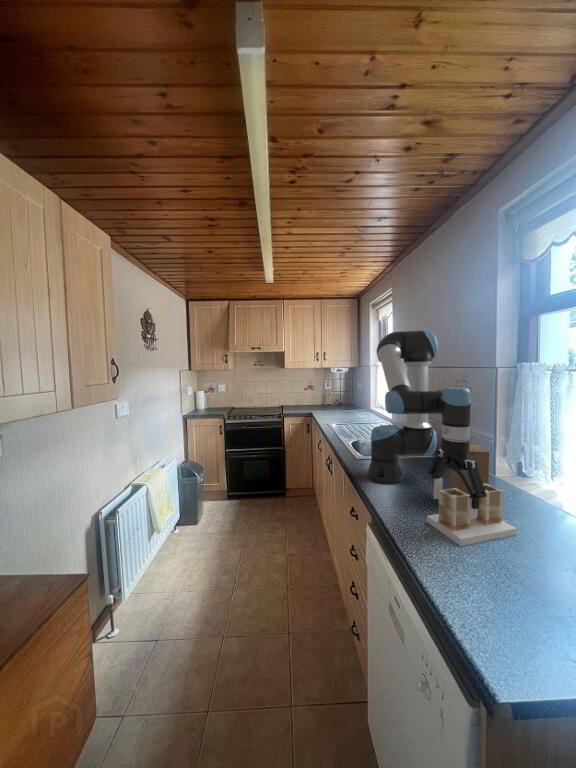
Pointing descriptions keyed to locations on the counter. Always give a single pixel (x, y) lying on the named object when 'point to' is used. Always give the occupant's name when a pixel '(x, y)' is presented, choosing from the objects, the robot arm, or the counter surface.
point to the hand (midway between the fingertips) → (454, 507)
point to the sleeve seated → (490, 506)
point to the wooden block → (482, 460)
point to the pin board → (474, 531)
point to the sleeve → (453, 509)
